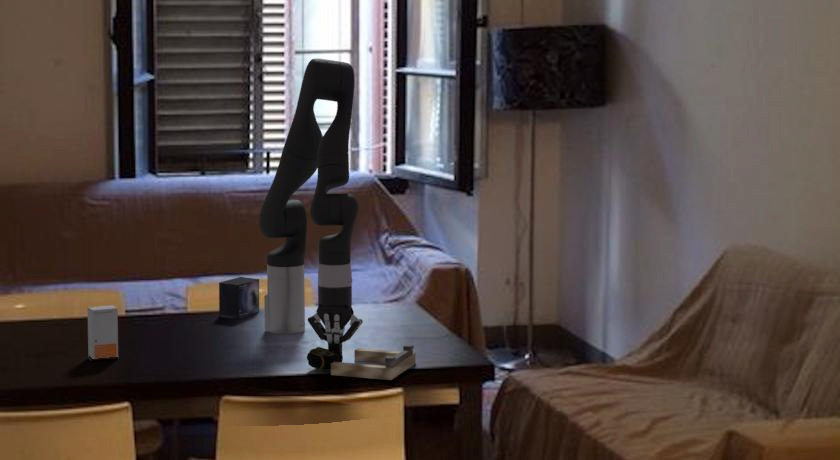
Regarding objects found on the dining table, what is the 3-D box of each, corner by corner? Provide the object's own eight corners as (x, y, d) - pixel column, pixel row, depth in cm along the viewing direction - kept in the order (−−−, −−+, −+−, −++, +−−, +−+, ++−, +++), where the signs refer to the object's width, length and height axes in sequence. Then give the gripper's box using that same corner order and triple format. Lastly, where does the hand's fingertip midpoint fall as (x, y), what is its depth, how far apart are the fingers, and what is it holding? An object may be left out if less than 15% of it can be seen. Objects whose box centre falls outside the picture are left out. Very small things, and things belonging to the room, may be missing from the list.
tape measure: (343, 367, 288) (345, 351, 287) (326, 375, 282) (328, 359, 281) (317, 360, 291) (319, 344, 290) (300, 367, 285) (302, 351, 284)
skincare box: (92, 362, 293) (91, 310, 292) (88, 358, 297) (86, 306, 296) (119, 359, 296) (117, 307, 295) (114, 355, 300) (113, 304, 298)
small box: (239, 324, 336) (238, 284, 334) (217, 321, 338) (217, 282, 337) (261, 316, 345) (260, 278, 344) (240, 314, 348) (239, 276, 346)
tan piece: (330, 374, 282) (330, 354, 282) (357, 358, 297) (357, 339, 297) (391, 380, 278) (391, 359, 277) (415, 363, 293) (415, 344, 292)
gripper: (300, 284, 286) (301, 360, 289) (356, 287, 282) (356, 365, 285) (314, 278, 293) (314, 353, 296) (368, 282, 289) (368, 357, 292)
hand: (335, 359), depth 290 cm, fingers closed
